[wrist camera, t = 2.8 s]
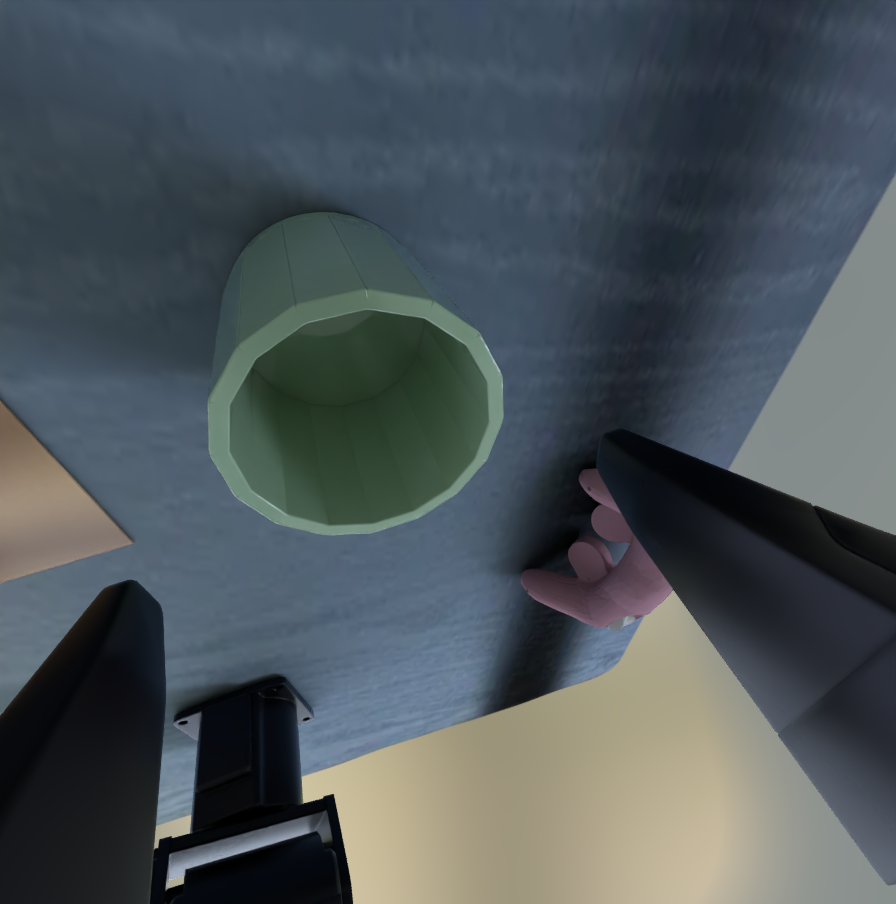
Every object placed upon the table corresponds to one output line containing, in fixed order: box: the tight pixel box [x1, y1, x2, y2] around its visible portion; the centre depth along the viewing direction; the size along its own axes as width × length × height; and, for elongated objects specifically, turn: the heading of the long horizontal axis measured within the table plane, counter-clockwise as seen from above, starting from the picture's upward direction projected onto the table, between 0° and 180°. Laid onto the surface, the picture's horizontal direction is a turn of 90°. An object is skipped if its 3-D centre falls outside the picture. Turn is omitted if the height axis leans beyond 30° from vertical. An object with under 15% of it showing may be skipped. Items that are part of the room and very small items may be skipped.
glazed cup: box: [207, 212, 503, 535], centre depth 13 cm, size 7×7×6 cm
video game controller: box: [521, 469, 673, 631], centre depth 26 cm, size 10×5×7 cm, turn 163°
